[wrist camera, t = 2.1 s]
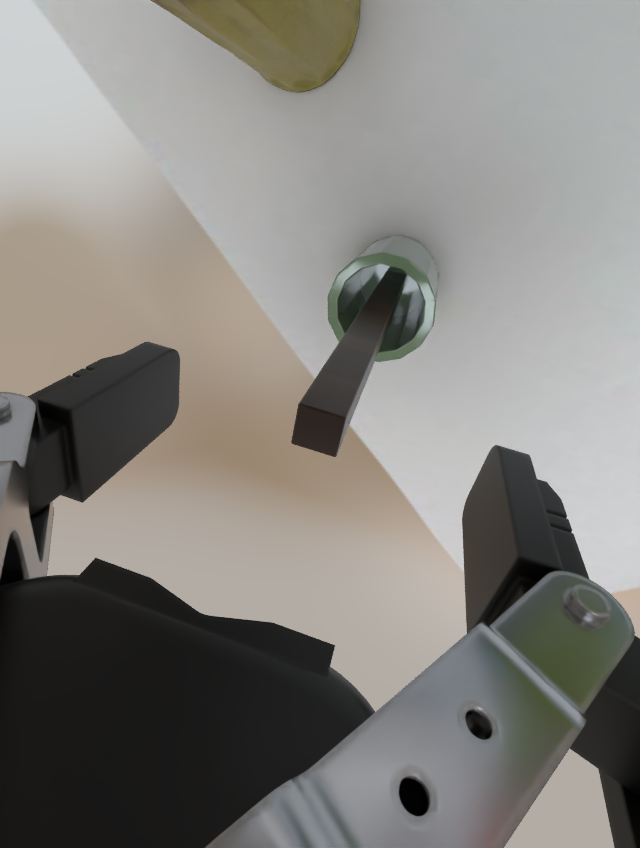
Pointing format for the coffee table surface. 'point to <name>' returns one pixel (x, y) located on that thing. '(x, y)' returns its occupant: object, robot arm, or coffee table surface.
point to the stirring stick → (346, 372)
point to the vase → (278, 35)
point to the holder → (413, 304)
